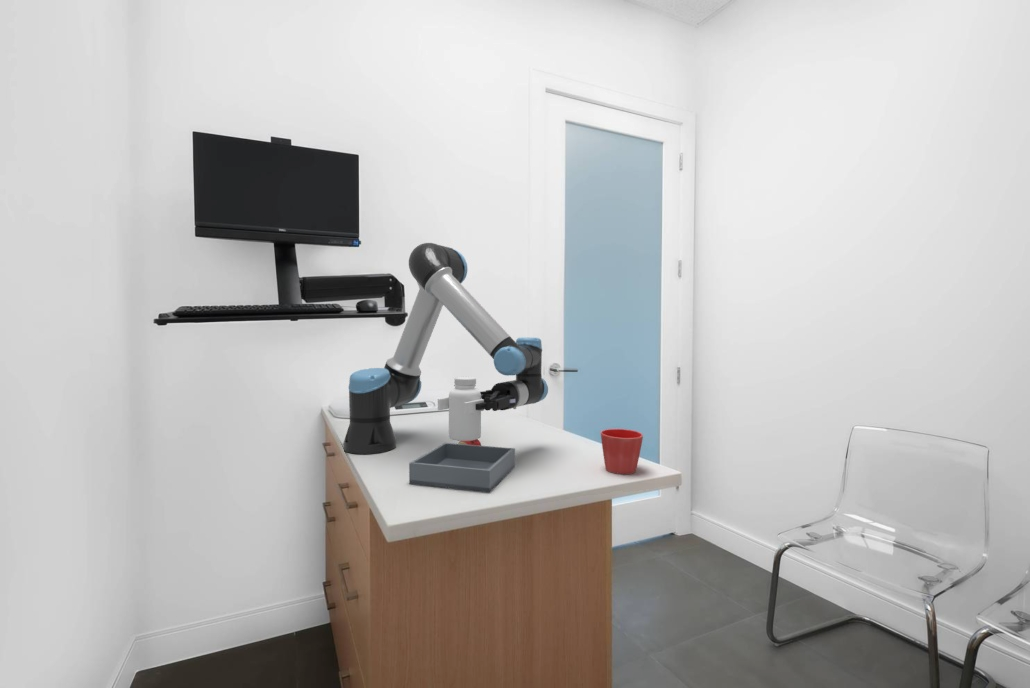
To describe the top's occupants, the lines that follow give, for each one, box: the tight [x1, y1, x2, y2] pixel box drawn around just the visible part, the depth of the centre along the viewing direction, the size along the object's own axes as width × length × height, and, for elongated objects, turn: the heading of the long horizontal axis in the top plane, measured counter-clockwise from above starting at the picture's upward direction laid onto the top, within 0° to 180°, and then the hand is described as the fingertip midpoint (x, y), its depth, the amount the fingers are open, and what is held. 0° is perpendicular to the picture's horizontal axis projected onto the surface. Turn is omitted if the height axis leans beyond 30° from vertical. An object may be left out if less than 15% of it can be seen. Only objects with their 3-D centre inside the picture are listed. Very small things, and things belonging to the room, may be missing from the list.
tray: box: [408, 442, 516, 494], centre depth 124 cm, size 20×20×5 cm
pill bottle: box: [448, 376, 482, 442], centre depth 123 cm, size 8×8×15 cm
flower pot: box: [600, 428, 644, 475], centre depth 129 cm, size 11×11×10 cm
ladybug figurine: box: [457, 439, 482, 446], centre depth 147 cm, size 7×10×4 cm
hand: (451, 406), depth 119 cm, fingers closed on pill bottle, 8 cm apart
